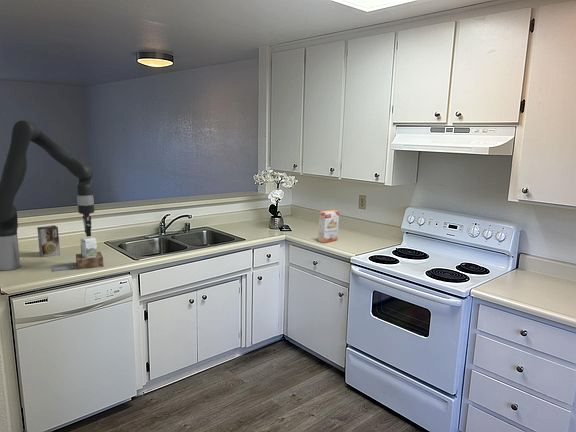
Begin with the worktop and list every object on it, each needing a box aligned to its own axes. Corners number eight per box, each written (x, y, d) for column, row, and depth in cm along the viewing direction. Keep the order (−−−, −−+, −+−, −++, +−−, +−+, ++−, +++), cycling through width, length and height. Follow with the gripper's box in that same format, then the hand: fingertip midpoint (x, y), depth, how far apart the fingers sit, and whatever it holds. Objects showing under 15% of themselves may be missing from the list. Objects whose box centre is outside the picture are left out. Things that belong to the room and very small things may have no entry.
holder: (77, 269, 210) (77, 260, 210) (76, 263, 221) (75, 254, 220) (103, 266, 216) (102, 257, 216) (100, 260, 227) (100, 251, 226)
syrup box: (92, 262, 223) (90, 236, 220) (97, 264, 219) (96, 238, 216) (81, 264, 218) (79, 238, 216) (86, 267, 215) (85, 239, 212)
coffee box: (57, 252, 241) (54, 225, 238) (60, 254, 236) (58, 226, 233) (39, 254, 234) (36, 227, 231) (42, 257, 230) (40, 228, 227)
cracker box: (324, 243, 278) (325, 212, 275) (317, 241, 283) (319, 211, 279) (338, 240, 287) (339, 210, 284) (331, 238, 292) (333, 209, 288)
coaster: (52, 271, 206) (52, 270, 206) (52, 266, 214) (52, 265, 214) (73, 269, 211) (73, 268, 211) (72, 264, 218) (72, 263, 218)
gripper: (76, 202, 217) (79, 232, 220) (78, 206, 205) (81, 238, 208) (92, 201, 221) (94, 231, 224) (95, 205, 209) (97, 236, 211)
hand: (88, 234), depth 216 cm, fingers open, 8 cm apart
